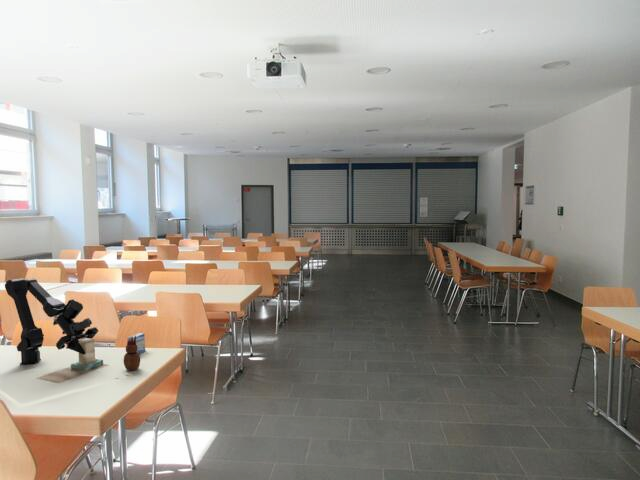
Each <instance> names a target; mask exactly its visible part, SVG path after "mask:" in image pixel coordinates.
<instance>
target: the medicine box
mask: <svg viewBox="0 0 640 480" xmlns="http://www.w3.org/2000/svg"><path fill="white" fill-rule="evenodd" d="M135 335H136V345H137V353H139V354H141V353H144V351H146V337H145V335H146V334H145V333H144V332H143V333H142V332H141V333H135V334H132V335H130V336H128V337H127V342H128V341H129V339H130V340H131V337H133V341H134V337H135Z"/></svg>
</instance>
